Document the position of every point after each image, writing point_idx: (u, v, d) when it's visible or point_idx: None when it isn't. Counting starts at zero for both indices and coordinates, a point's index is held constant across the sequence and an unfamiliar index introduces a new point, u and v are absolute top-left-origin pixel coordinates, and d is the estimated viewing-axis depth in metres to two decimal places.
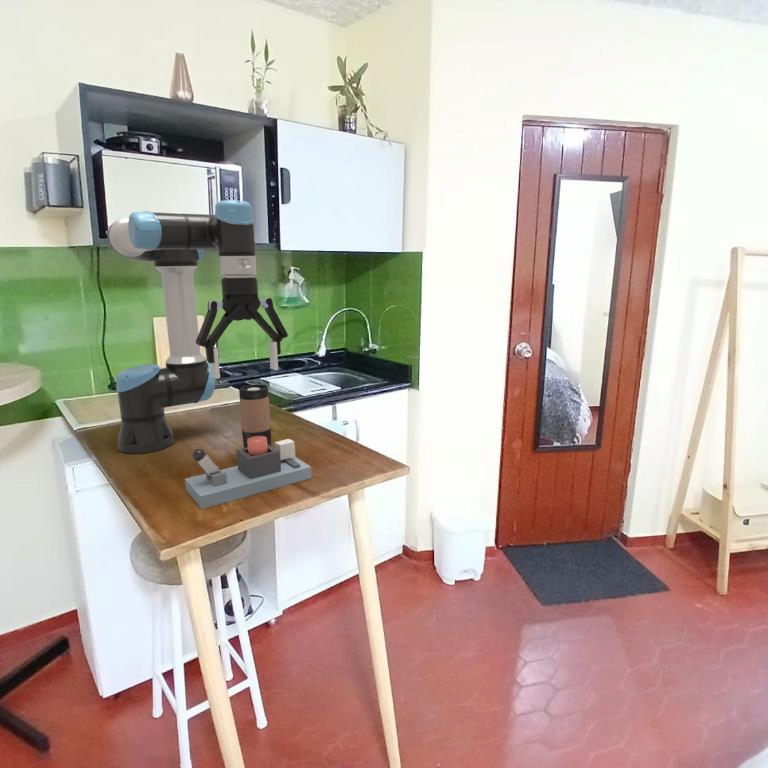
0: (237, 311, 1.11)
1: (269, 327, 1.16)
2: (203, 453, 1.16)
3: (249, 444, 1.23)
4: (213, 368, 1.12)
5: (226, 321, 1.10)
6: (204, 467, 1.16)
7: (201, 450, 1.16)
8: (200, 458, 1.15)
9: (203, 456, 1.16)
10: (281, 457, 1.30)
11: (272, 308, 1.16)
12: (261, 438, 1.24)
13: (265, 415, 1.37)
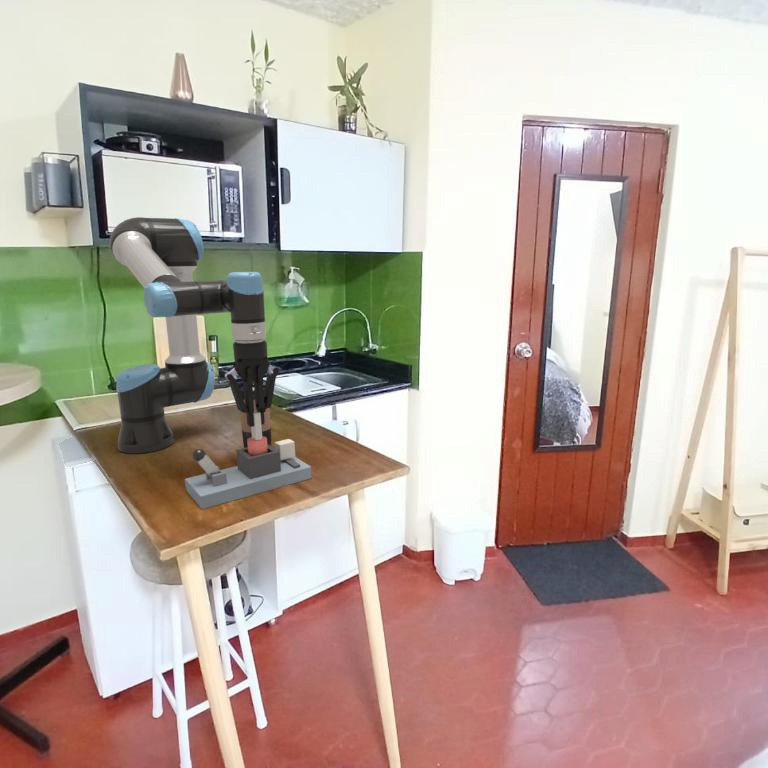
0: (251, 373, 1.18)
1: (262, 395, 1.21)
2: (203, 453, 1.16)
3: (249, 444, 1.23)
4: (253, 430, 1.23)
5: (248, 386, 1.19)
6: (204, 467, 1.16)
7: (201, 450, 1.16)
8: (200, 458, 1.15)
9: (203, 456, 1.16)
10: (281, 457, 1.30)
11: (274, 377, 1.23)
12: None
13: (265, 415, 1.37)
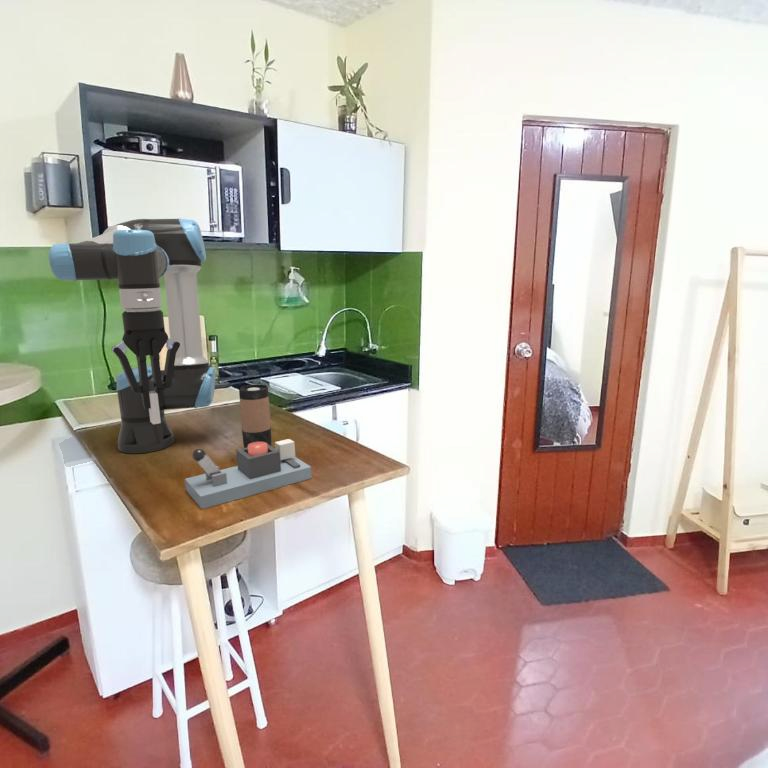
0: (143, 347, 1.03)
1: (158, 373, 1.07)
2: (203, 453, 1.16)
3: (249, 450, 1.23)
4: (150, 413, 1.08)
5: (141, 362, 1.04)
6: (204, 467, 1.16)
7: (201, 450, 1.16)
8: (200, 458, 1.15)
9: (203, 456, 1.16)
10: (281, 457, 1.30)
11: (174, 353, 1.08)
12: (262, 444, 1.25)
13: (265, 415, 1.37)
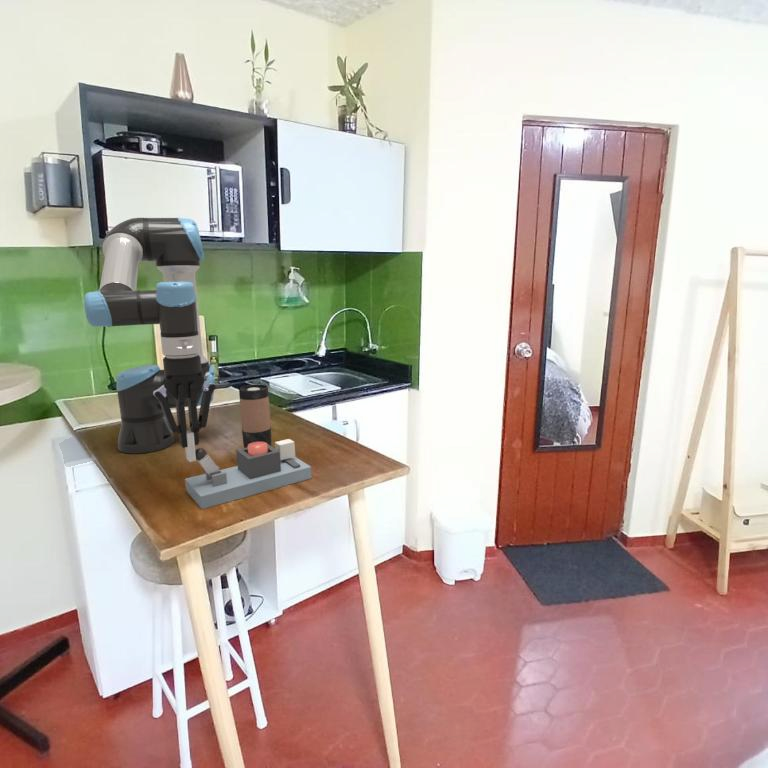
0: (182, 390, 1.10)
1: (195, 414, 1.13)
2: (204, 452, 1.16)
3: (249, 450, 1.23)
4: (186, 451, 1.15)
5: (180, 404, 1.11)
6: (204, 466, 1.16)
7: (202, 449, 1.16)
8: (201, 458, 1.15)
9: (204, 455, 1.16)
10: (281, 457, 1.30)
11: (210, 394, 1.14)
12: (262, 444, 1.25)
13: (265, 415, 1.37)
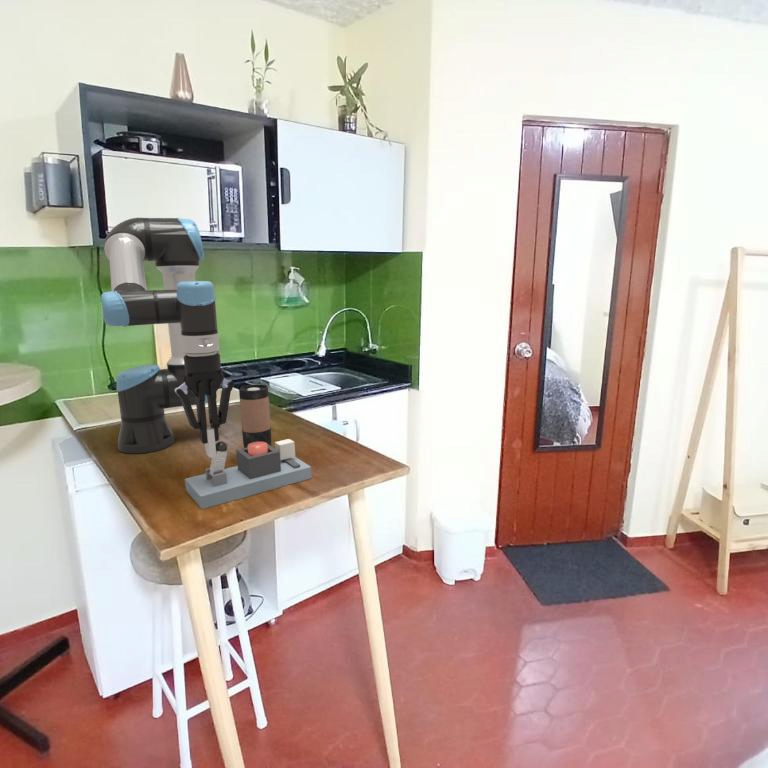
0: (202, 388, 1.12)
1: (215, 410, 1.15)
2: (226, 448, 1.19)
3: (249, 450, 1.23)
4: (206, 447, 1.17)
5: (200, 401, 1.13)
6: (216, 460, 1.18)
7: (226, 445, 1.19)
8: (220, 450, 1.18)
9: (224, 450, 1.18)
10: (281, 457, 1.30)
11: (229, 391, 1.17)
12: (262, 444, 1.25)
13: (265, 415, 1.37)
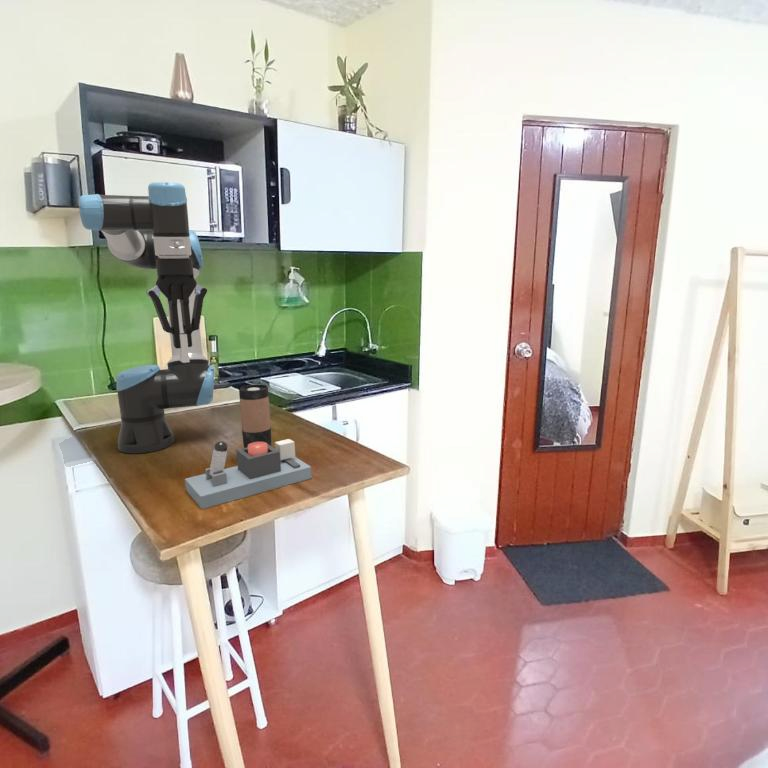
0: (174, 291, 1.14)
1: (188, 316, 1.18)
2: (226, 448, 1.19)
3: (249, 450, 1.23)
4: (180, 353, 1.20)
5: (173, 305, 1.15)
6: (216, 460, 1.18)
7: (226, 445, 1.19)
8: (220, 450, 1.18)
9: (224, 450, 1.18)
10: (281, 457, 1.30)
11: (202, 298, 1.19)
12: (262, 444, 1.25)
13: (265, 415, 1.37)
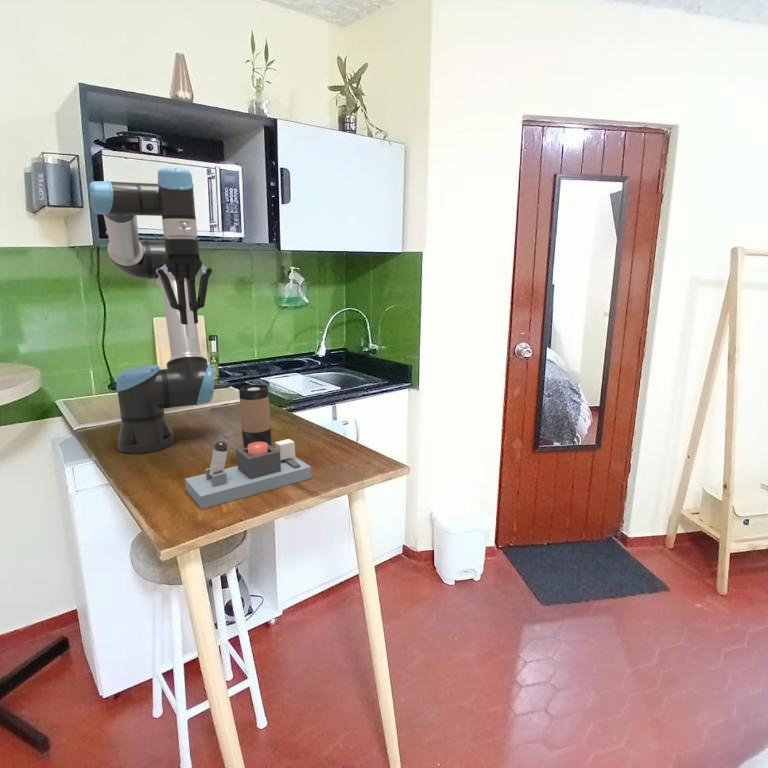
0: (182, 270, 1.22)
1: (194, 294, 1.26)
2: (226, 448, 1.19)
3: (249, 450, 1.23)
4: (186, 329, 1.28)
5: (180, 283, 1.23)
6: (216, 460, 1.18)
7: (226, 445, 1.19)
8: (220, 450, 1.18)
9: (224, 450, 1.18)
10: (281, 457, 1.30)
11: (207, 277, 1.27)
12: (262, 444, 1.25)
13: (265, 415, 1.37)
